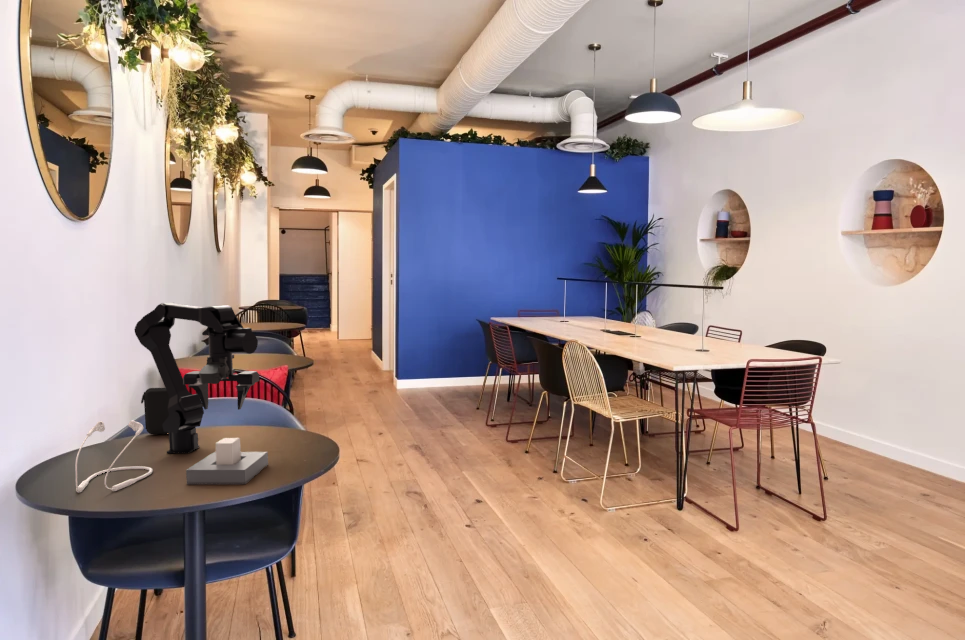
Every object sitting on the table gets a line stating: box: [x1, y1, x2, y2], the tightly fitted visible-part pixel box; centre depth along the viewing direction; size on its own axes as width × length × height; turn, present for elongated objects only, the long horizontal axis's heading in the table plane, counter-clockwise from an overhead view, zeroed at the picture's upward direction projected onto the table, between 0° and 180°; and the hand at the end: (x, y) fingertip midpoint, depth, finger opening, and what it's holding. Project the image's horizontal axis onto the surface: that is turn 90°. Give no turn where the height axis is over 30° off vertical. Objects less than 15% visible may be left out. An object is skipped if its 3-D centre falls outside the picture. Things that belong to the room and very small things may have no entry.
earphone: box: [74, 419, 154, 493], centre depth 154 cm, size 14×17×18 cm
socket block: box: [185, 451, 269, 485], centre depth 157 cm, size 14×15×4 cm
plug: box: [215, 437, 242, 465], centre depth 158 cm, size 4×6×8 cm, turn 179°
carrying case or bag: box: [140, 387, 170, 435], centre depth 197 cm, size 11×3×15 cm, turn 96°
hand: (222, 409), depth 173 cm, fingers open, 9 cm apart
